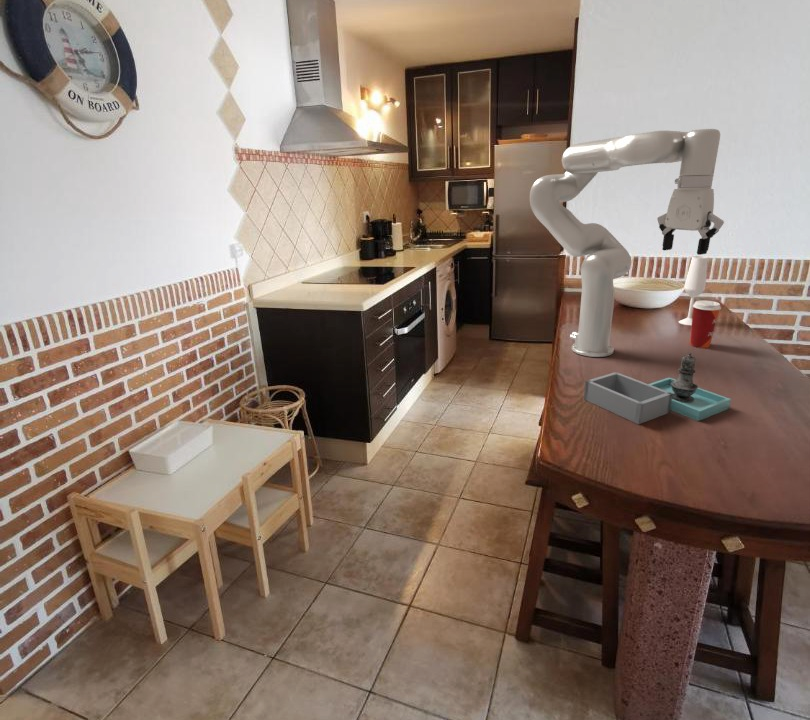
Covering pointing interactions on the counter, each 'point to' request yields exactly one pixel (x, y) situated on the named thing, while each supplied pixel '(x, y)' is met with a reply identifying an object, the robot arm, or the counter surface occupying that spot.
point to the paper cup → (703, 323)
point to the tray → (695, 402)
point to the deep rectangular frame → (628, 397)
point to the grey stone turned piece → (685, 381)
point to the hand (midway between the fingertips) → (683, 251)
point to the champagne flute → (695, 283)
